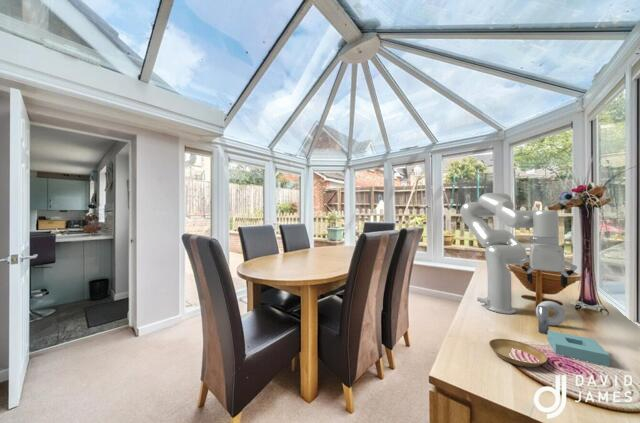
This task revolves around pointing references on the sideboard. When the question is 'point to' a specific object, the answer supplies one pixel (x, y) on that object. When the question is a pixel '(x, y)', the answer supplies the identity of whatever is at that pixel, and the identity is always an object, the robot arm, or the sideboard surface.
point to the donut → (558, 310)
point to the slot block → (578, 348)
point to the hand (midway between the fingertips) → (546, 284)
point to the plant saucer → (505, 346)
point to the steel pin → (543, 319)
